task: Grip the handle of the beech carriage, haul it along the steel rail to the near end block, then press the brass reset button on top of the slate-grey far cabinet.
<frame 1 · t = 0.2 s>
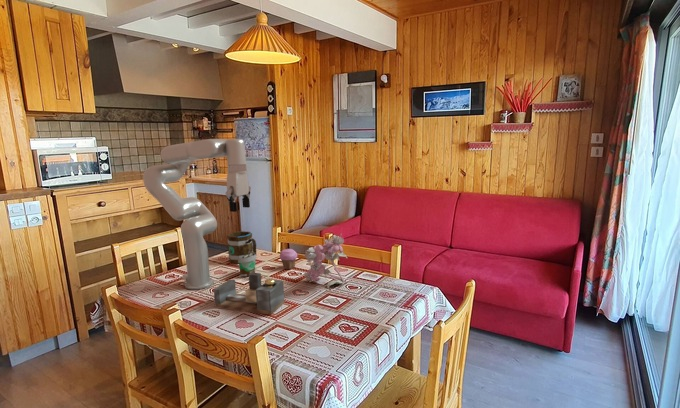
hand: (240, 209, 162), 36 cm above the table, tool pointing down, fingers open, 9 cm apart
rail base: (250, 305, 154), on the table
cupcake: (289, 268, 197), on the table
food container: (250, 275, 189), on the table
flower: (321, 284, 175), on the table
reset button: (270, 287, 149), point 9 cm above the table, slide at 0.0 cm
mug: (244, 262, 209), on the table
carriage: (255, 286, 152), point 8 cm above the table, slide at 3.0 cm
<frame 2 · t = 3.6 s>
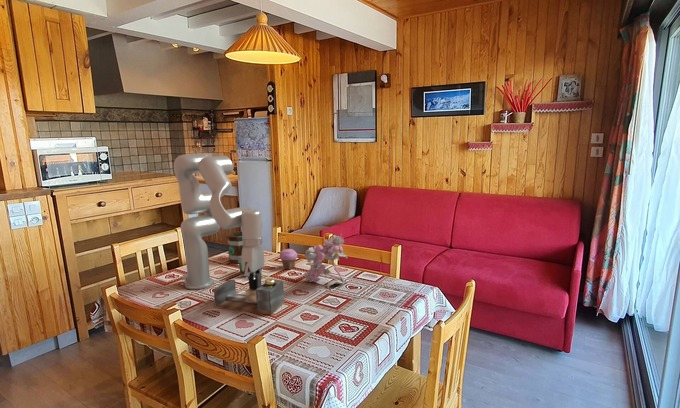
hand: (255, 286, 152), 8 cm above the table, tool pointing down, fingers closed on carriage, 2 cm apart
carriage: (255, 286, 152), point 8 cm above the table, slide at 3.0 cm, touching gripper
everything else where it was.
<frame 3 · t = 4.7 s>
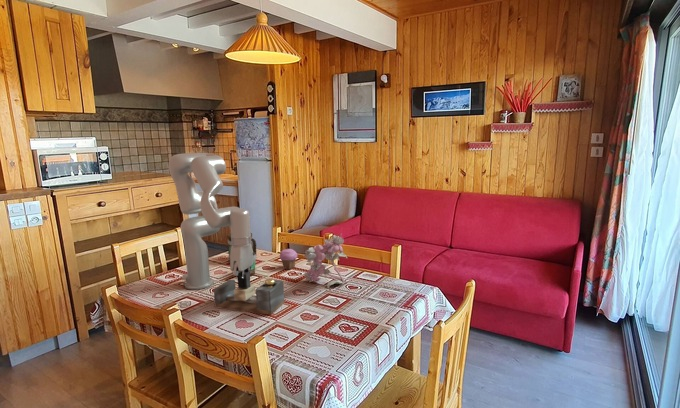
hand: (244, 285, 153), 8 cm above the table, tool pointing down, fingers closed on carriage, 2 cm apart
carriage: (244, 284, 153), point 8 cm above the table, slide at -2.1 cm, touching gripper
everything else where it was.
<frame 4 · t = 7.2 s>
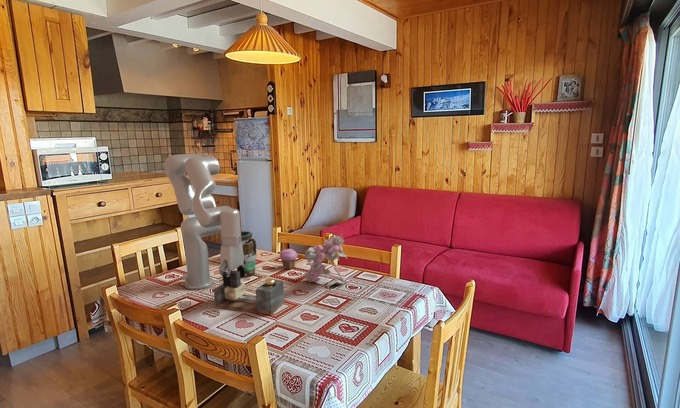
hand: (234, 281, 154), 9 cm above the table, tool pointing down, fingers open, 9 cm apart
carriage: (234, 283, 155), point 8 cm above the table, slide at -6.5 cm
everything else where it was.
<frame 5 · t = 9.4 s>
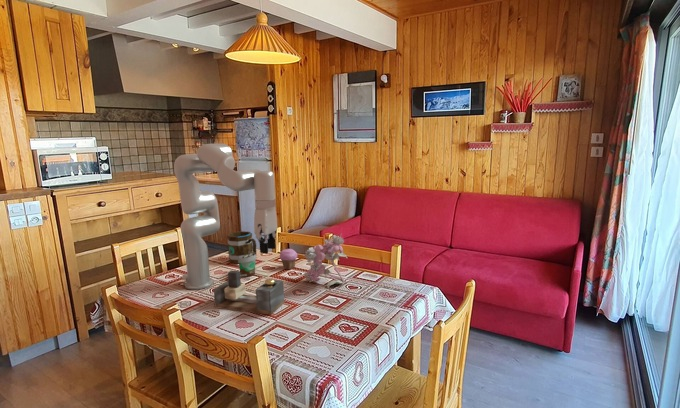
hand: (268, 250, 147), 23 cm above the table, tool pointing down, fingers open, 5 cm apart
nothing on the table moved.
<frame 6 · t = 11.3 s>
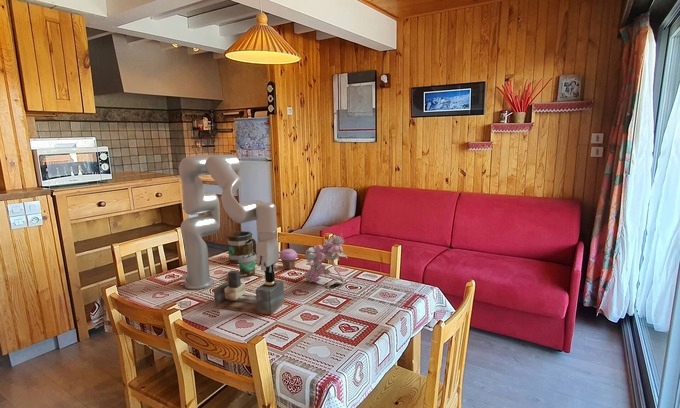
hand: (270, 281, 149), 11 cm above the table, tool pointing down, fingers closed
reset button: (270, 287, 150), point 8 cm above the table, slide at 0.3 cm, touching gripper
everything else where it was.
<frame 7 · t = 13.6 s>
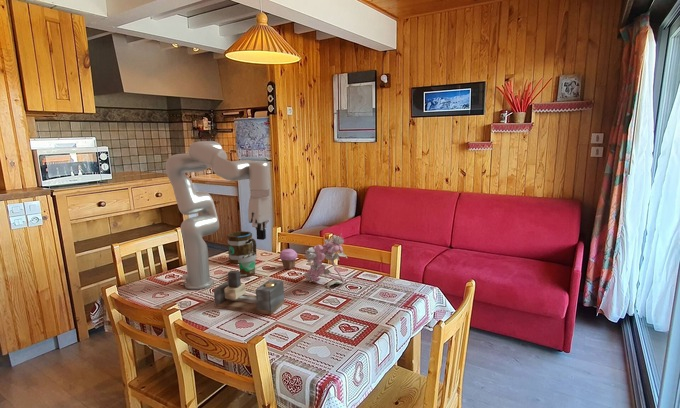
hand: (261, 238, 153), 26 cm above the table, tool pointing down, fingers closed
reset button: (270, 290, 150), point 7 cm above the table, slide at 1.5 cm
everything else where it was.
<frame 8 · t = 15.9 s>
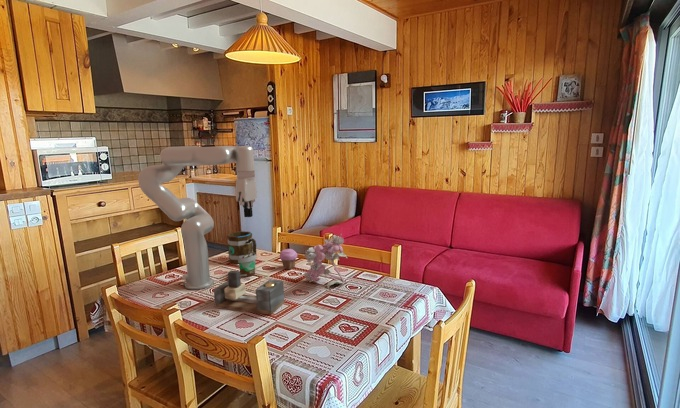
hand: (248, 216, 168), 32 cm above the table, tool pointing down, fingers closed
nothing on the table moved.
at the end: carriage slide at -6.5 cm; reset button slide at 1.5 cm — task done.
